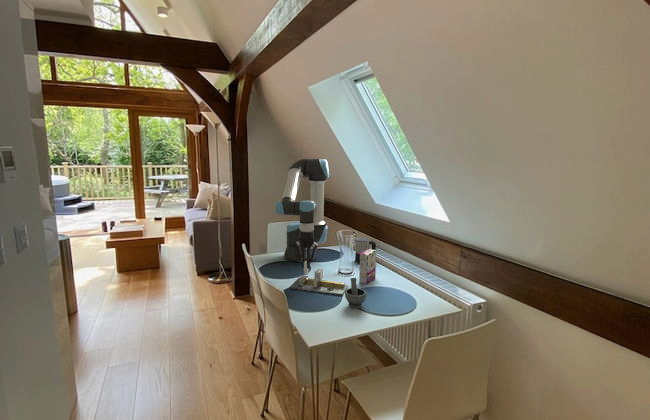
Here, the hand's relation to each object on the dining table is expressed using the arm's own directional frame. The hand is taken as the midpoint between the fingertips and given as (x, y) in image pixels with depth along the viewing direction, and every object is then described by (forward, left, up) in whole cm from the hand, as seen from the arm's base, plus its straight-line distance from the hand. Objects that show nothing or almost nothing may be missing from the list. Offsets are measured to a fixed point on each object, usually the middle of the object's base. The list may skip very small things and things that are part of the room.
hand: (306, 273), depth 186 cm
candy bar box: (-17, +30, -6) cm, 35 cm away
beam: (+2, +8, -5) cm, 10 cm away
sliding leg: (+2, +7, -5) cm, 8 cm away
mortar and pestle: (+16, +30, -6) cm, 35 cm away
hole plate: (+2, +8, -6) cm, 10 cm away
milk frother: (-52, +20, -6) cm, 56 cm away
